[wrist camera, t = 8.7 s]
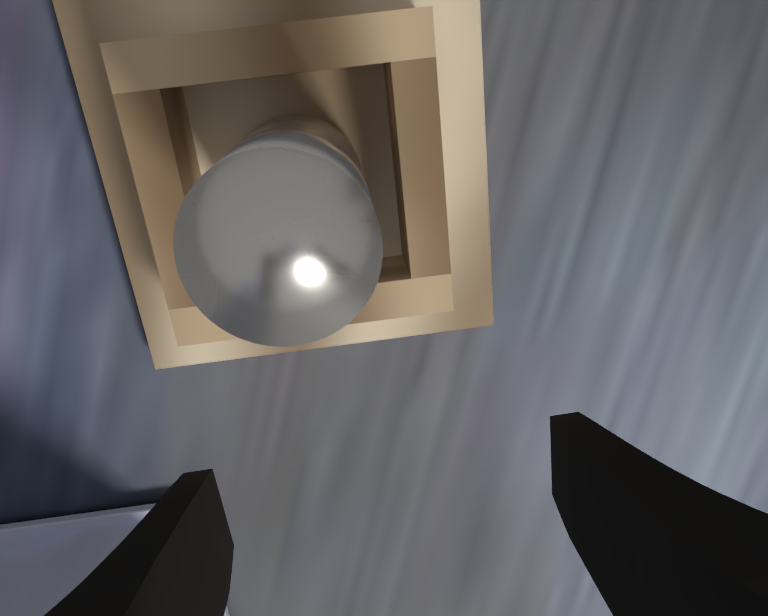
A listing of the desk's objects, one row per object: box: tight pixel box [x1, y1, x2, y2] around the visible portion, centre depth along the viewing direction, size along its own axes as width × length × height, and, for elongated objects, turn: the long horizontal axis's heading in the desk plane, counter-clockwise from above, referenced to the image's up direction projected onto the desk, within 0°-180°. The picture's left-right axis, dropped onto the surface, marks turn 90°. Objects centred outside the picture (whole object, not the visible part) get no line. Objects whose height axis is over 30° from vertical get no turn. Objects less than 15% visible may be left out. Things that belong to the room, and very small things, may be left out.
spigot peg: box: [173, 114, 383, 347], centre depth 15 cm, size 4×4×8 cm
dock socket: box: [52, 0, 494, 369], centre depth 18 cm, size 12×12×3 cm
